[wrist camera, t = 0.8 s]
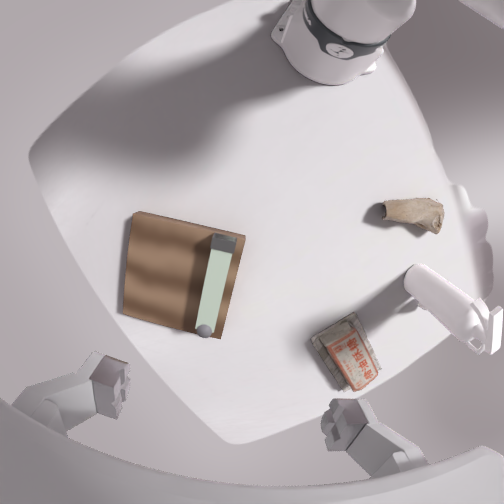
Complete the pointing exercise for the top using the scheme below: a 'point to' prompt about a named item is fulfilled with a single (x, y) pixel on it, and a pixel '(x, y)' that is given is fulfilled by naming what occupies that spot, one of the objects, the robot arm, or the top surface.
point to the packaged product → (347, 353)
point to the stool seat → (173, 271)
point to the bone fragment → (416, 213)
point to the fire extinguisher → (455, 309)
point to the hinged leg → (214, 283)
